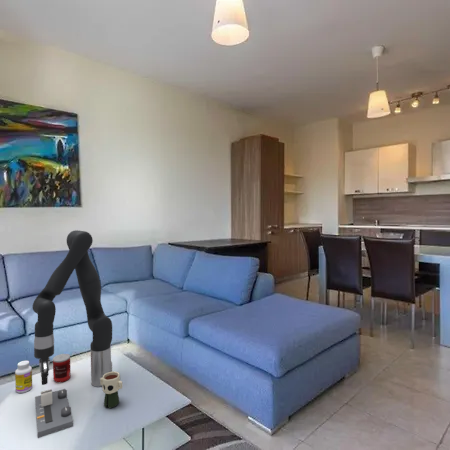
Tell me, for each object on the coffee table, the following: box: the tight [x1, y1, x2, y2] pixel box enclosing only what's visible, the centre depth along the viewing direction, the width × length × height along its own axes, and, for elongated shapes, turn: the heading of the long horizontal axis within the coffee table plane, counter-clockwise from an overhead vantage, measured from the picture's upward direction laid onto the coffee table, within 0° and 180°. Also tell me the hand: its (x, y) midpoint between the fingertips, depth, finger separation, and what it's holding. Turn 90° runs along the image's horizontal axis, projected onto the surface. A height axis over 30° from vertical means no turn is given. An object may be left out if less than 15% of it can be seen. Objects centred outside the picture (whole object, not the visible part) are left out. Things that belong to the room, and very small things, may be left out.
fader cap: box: [40, 388, 53, 407], centre depth 136 cm, size 4×3×5 cm
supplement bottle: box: [14, 360, 33, 394], centre depth 150 cm, size 7×7×13 cm
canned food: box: [52, 353, 72, 384], centre depth 160 cm, size 8×8×11 cm
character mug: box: [100, 370, 123, 409], centre depth 140 cm, size 11×7×13 cm, turn 73°
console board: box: [34, 388, 74, 438], centre depth 134 cm, size 12×26×4 cm, turn 32°
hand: (44, 383), depth 140 cm, fingers closed
